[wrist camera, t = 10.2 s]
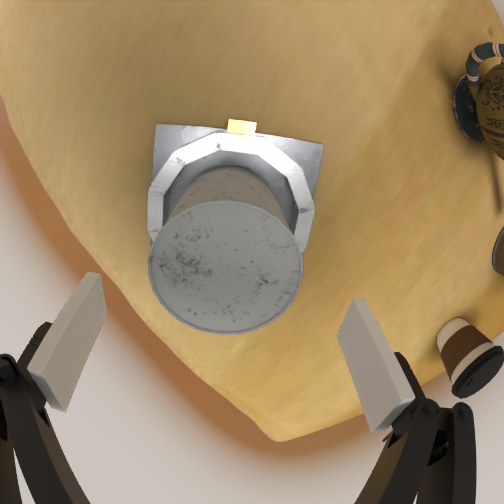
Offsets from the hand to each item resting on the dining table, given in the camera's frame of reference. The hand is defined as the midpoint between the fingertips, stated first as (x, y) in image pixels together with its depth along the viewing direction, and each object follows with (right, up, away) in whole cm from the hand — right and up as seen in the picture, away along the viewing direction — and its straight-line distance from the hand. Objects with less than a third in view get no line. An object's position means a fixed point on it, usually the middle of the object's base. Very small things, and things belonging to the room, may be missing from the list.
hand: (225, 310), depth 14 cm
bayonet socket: (-1, +7, +15) cm, 17 cm away
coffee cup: (+36, -11, +27) cm, 46 cm away
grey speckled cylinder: (-1, +7, +14) cm, 16 cm away
